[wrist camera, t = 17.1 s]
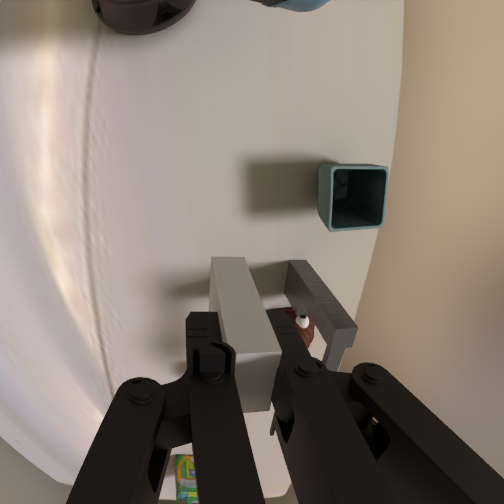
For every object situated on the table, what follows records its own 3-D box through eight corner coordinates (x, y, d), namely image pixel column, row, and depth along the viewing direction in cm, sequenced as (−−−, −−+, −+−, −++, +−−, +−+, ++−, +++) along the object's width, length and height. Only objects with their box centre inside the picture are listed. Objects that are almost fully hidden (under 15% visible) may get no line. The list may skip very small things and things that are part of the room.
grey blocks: (271, 365, 61) (279, 390, 55) (286, 276, 54) (299, 298, 47) (285, 364, 62) (295, 389, 56) (303, 276, 54) (318, 297, 48)
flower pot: (305, 213, 50) (328, 233, 42) (306, 156, 46) (331, 166, 38) (355, 209, 51) (384, 228, 43) (358, 156, 48) (389, 166, 39)
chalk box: (210, 454, 72) (217, 501, 58) (206, 469, 75) (213, 513, 62) (174, 453, 69) (178, 501, 56) (174, 468, 73) (177, 513, 59)
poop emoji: (257, 344, 58) (269, 379, 50) (259, 306, 55) (272, 339, 47) (308, 338, 60) (326, 370, 52) (314, 300, 57) (334, 331, 48)
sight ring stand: (268, 339, 58) (297, 418, 41) (280, 259, 52) (324, 330, 35) (298, 337, 59) (335, 411, 42) (314, 260, 53) (368, 326, 36)
